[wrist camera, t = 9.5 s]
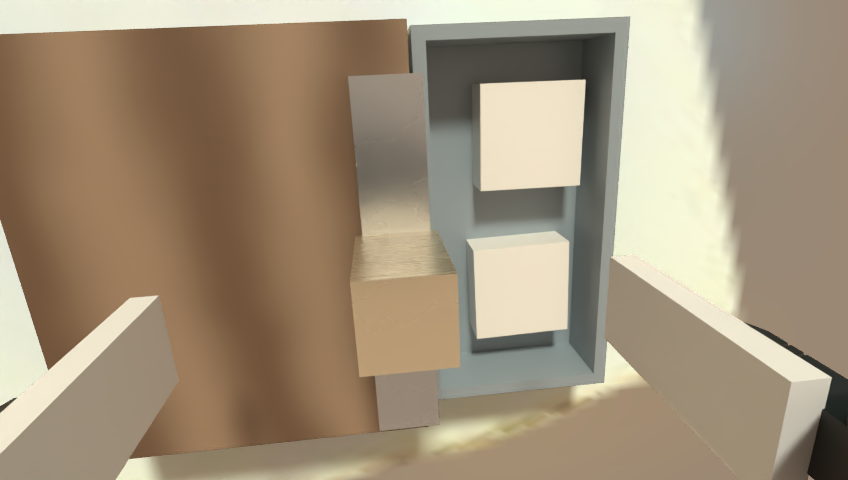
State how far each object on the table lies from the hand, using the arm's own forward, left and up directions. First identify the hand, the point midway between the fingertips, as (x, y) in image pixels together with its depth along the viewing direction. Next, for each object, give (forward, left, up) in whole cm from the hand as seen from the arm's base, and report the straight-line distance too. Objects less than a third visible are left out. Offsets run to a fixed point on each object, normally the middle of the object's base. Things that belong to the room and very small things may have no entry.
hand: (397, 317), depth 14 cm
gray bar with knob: (0, 0, -7) cm, 7 cm away
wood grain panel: (-7, 0, -13) cm, 14 cm away
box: (+6, 0, -13) cm, 14 cm away
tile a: (+7, -4, -10) cm, 13 cm away
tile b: (+7, +4, -10) cm, 13 cm away
